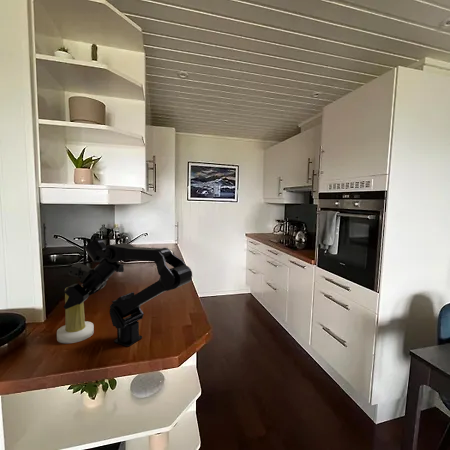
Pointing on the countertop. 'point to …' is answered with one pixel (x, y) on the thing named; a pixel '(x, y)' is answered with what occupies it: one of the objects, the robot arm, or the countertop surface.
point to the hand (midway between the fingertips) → (70, 304)
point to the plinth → (75, 334)
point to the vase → (74, 317)
